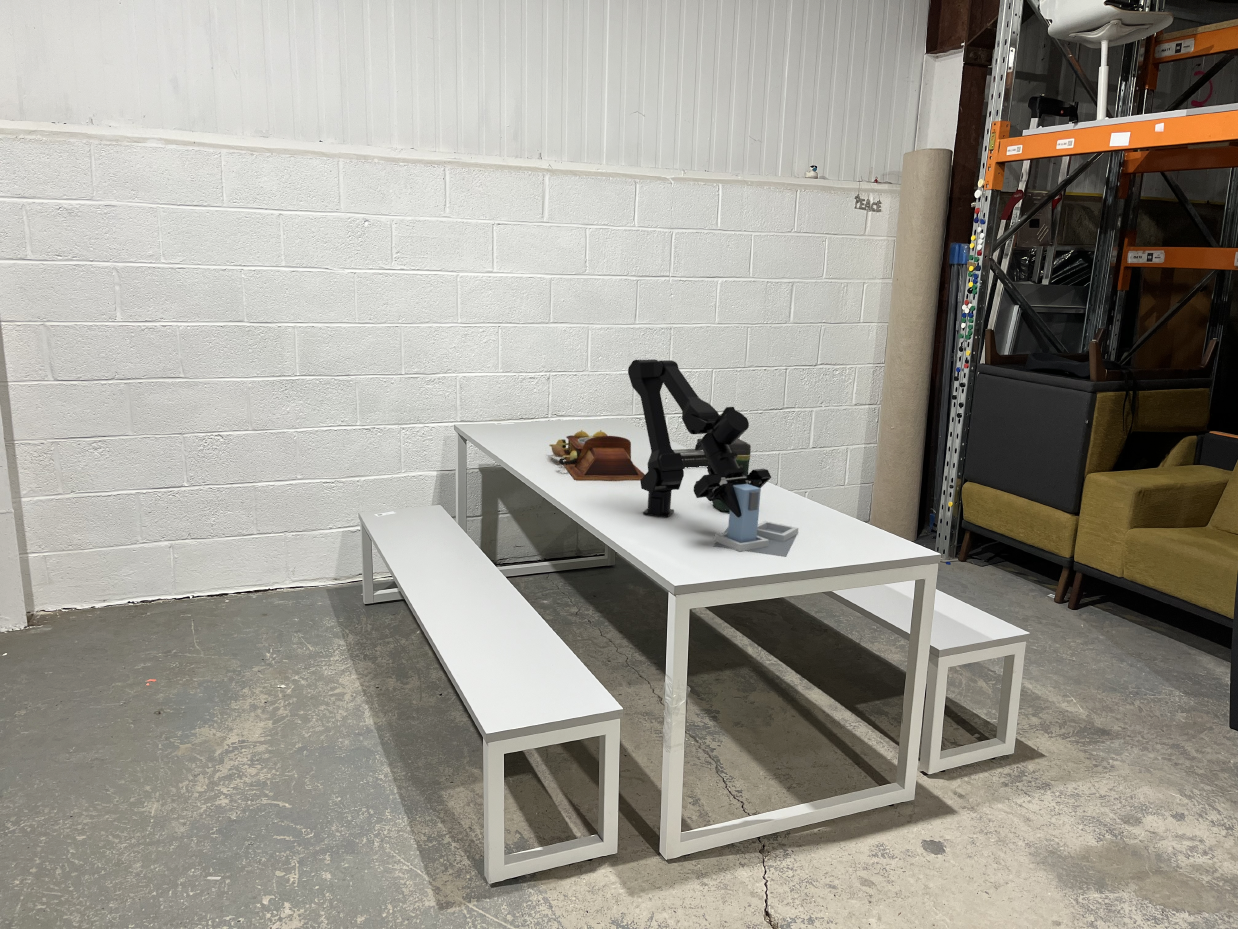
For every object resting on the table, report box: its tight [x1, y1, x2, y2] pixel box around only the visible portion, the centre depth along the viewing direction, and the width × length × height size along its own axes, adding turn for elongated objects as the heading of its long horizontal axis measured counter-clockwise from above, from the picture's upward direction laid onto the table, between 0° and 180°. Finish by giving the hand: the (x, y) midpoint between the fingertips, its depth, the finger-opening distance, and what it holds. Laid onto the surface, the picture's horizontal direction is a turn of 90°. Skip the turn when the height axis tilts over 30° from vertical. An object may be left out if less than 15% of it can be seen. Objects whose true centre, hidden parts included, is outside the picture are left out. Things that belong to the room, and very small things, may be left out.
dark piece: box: [672, 448, 710, 468], centre depth 289 cm, size 20×14×17 cm
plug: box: [727, 484, 762, 543], centre depth 204 cm, size 5×4×13 cm
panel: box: [712, 520, 799, 558], centre depth 210 cm, size 22×17×2 cm
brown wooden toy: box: [548, 429, 646, 482], centre depth 280 cm, size 24×12×40 cm
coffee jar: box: [711, 438, 752, 512], centre depth 238 cm, size 10×8×19 cm
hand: (748, 515), depth 203 cm, fingers closed on plug, 4 cm apart
